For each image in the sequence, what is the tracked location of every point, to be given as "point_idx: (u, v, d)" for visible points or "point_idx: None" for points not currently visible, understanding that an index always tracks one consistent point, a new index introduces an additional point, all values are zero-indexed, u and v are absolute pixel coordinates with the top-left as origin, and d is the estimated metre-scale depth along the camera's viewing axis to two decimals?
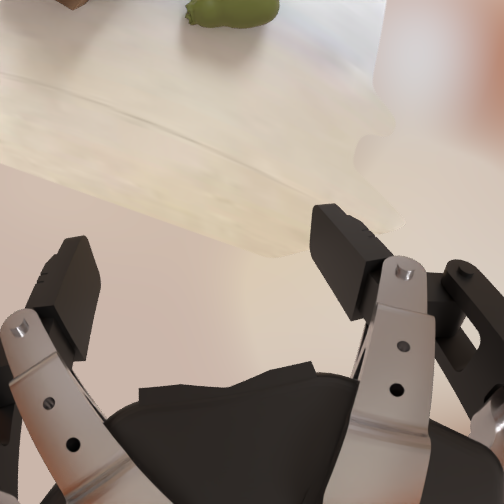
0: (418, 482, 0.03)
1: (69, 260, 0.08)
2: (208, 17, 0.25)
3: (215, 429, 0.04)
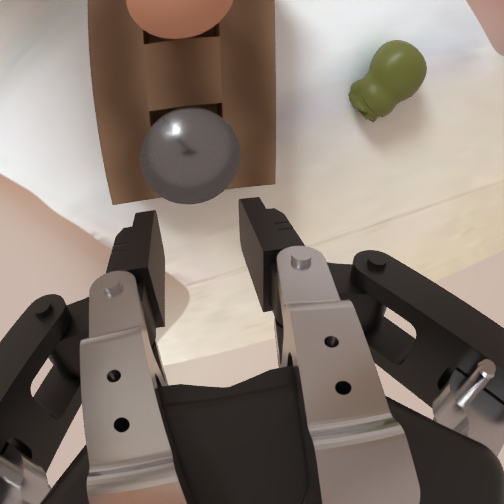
0: (407, 466, 0.03)
1: (150, 230, 0.09)
2: (387, 106, 0.25)
3: (215, 429, 0.04)
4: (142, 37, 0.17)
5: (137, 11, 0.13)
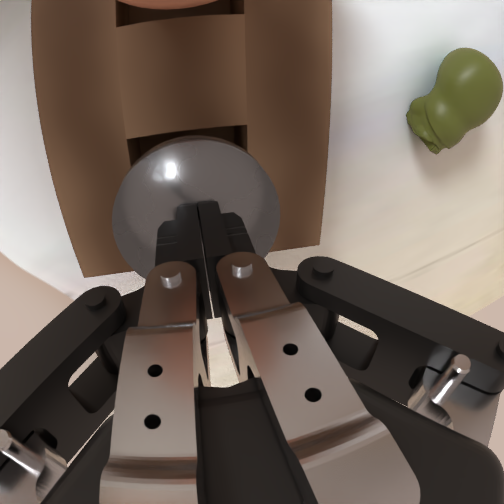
0: (398, 460, 0.03)
1: (196, 222, 0.09)
2: (458, 136, 0.18)
3: (215, 429, 0.04)
4: (114, 16, 0.09)
5: None
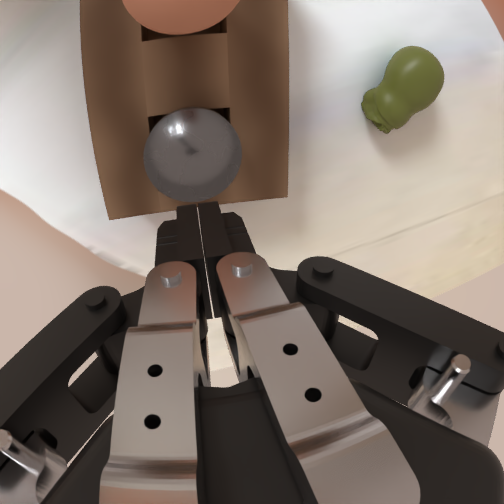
0: (398, 460, 0.03)
1: (196, 222, 0.09)
2: (403, 117, 0.23)
3: (215, 429, 0.04)
4: (140, 34, 0.15)
5: (133, 2, 0.11)
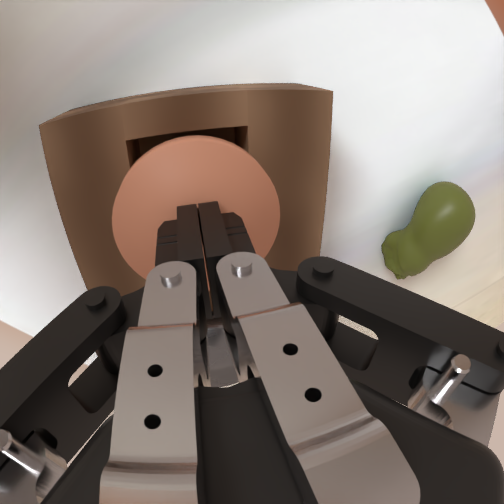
0: (398, 460, 0.03)
1: (196, 222, 0.09)
2: (423, 269, 0.24)
3: (215, 429, 0.04)
4: None
5: (136, 258, 0.12)
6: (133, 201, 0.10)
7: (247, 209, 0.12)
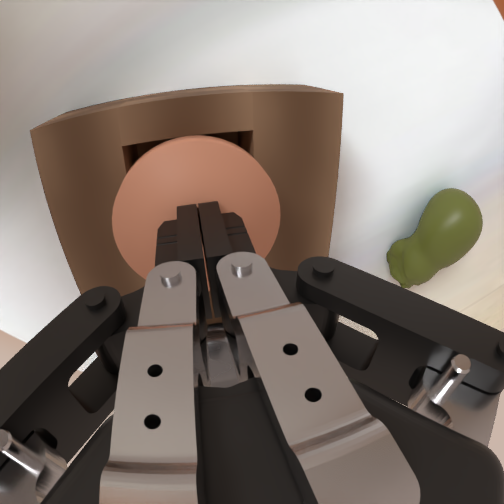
0: (398, 460, 0.03)
1: (196, 222, 0.09)
2: (429, 278, 0.23)
3: (215, 429, 0.04)
4: None
5: (136, 258, 0.12)
6: (133, 201, 0.10)
7: (247, 209, 0.12)
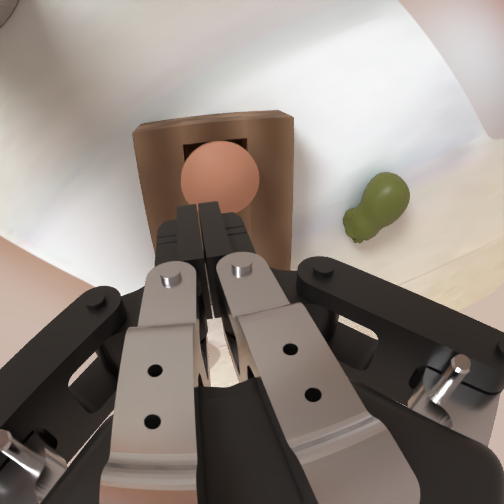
0: (398, 460, 0.03)
1: (196, 222, 0.09)
2: (372, 234, 0.36)
3: (215, 429, 0.04)
4: None
5: (190, 197, 0.25)
6: (192, 169, 0.24)
7: (243, 174, 0.25)
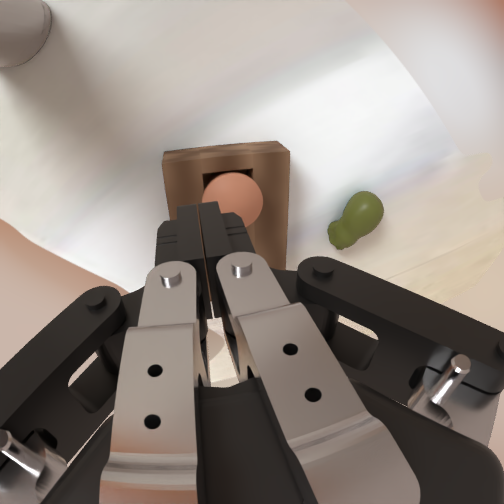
0: (398, 460, 0.03)
1: (196, 222, 0.09)
2: (351, 243, 0.44)
3: (215, 429, 0.04)
4: None
5: None
6: (211, 195, 0.31)
7: (251, 198, 0.33)
